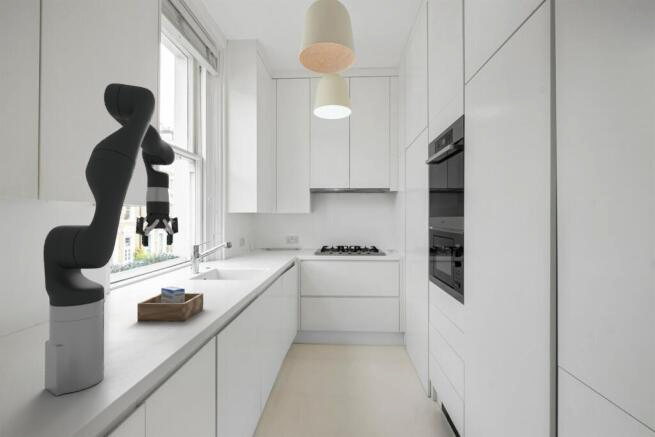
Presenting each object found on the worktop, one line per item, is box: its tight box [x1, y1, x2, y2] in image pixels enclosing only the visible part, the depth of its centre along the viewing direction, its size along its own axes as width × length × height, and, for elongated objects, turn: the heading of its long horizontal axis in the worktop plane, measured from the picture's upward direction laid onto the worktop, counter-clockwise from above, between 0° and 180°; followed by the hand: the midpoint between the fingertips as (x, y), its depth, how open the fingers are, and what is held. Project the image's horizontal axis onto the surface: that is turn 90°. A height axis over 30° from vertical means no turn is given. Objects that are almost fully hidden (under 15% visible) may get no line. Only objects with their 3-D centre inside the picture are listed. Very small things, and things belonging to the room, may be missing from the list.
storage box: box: [137, 292, 204, 323], centre depth 118 cm, size 16×16×6 cm
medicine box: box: [160, 286, 186, 303], centre depth 118 cm, size 8×4×9 cm, turn 59°
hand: (157, 245), depth 118 cm, fingers open, 8 cm apart
